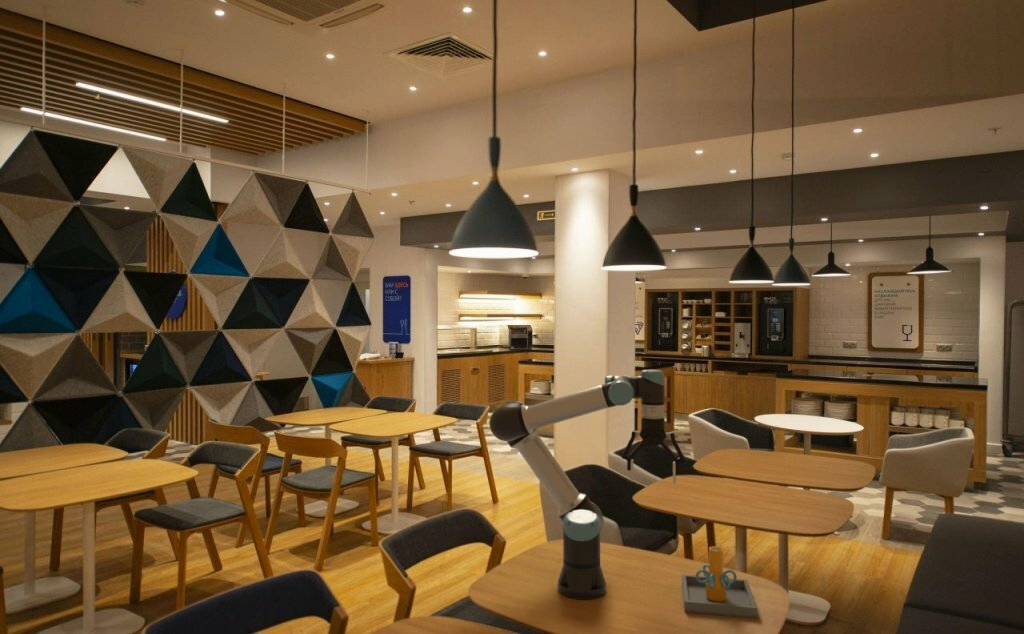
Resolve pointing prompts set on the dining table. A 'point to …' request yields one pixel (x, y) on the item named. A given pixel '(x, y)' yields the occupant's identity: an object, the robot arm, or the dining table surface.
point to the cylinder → (716, 576)
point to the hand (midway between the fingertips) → (653, 481)
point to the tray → (734, 605)
